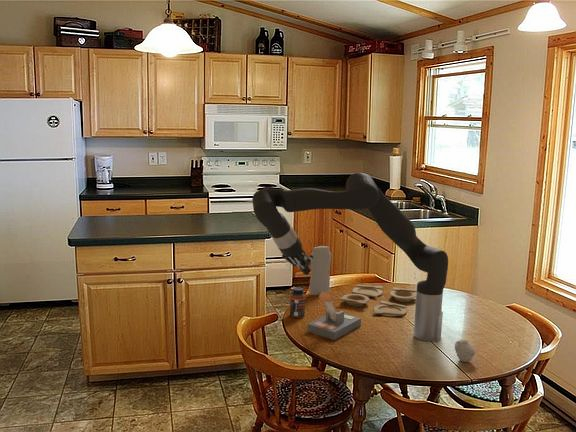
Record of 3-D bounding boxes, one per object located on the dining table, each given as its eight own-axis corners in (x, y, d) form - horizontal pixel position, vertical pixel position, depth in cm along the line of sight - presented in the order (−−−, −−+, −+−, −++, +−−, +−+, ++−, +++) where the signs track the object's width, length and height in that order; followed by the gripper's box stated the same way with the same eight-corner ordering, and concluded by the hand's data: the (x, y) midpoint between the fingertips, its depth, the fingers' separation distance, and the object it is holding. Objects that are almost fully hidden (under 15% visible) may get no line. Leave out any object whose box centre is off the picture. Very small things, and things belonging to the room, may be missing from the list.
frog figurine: (462, 355, 188) (464, 335, 186) (478, 363, 182) (480, 343, 180) (449, 358, 185) (450, 338, 183) (465, 367, 179) (466, 346, 177)
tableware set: (359, 286, 262) (359, 278, 261) (421, 296, 249) (422, 287, 248) (332, 309, 231) (332, 299, 230) (401, 321, 218) (402, 311, 217)
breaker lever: (341, 318, 208) (331, 293, 200) (338, 323, 206) (327, 298, 198) (332, 315, 210) (322, 291, 202) (329, 320, 209) (318, 296, 201)
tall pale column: (328, 291, 252) (329, 244, 248) (332, 293, 249) (333, 246, 245) (306, 293, 248) (308, 245, 244) (310, 296, 245) (312, 247, 241)
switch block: (360, 325, 212) (361, 308, 210) (334, 340, 198) (335, 321, 196) (334, 318, 219) (335, 301, 218) (307, 331, 205) (307, 313, 204)
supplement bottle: (298, 319, 216) (299, 292, 214) (286, 316, 220) (287, 288, 218) (307, 315, 221) (308, 288, 219) (295, 312, 225) (296, 285, 223)
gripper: (266, 245, 186) (287, 278, 196) (295, 250, 177) (317, 284, 188) (277, 229, 190) (298, 262, 200) (307, 233, 181) (327, 267, 191)
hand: (307, 272), depth 194 cm, fingers closed
